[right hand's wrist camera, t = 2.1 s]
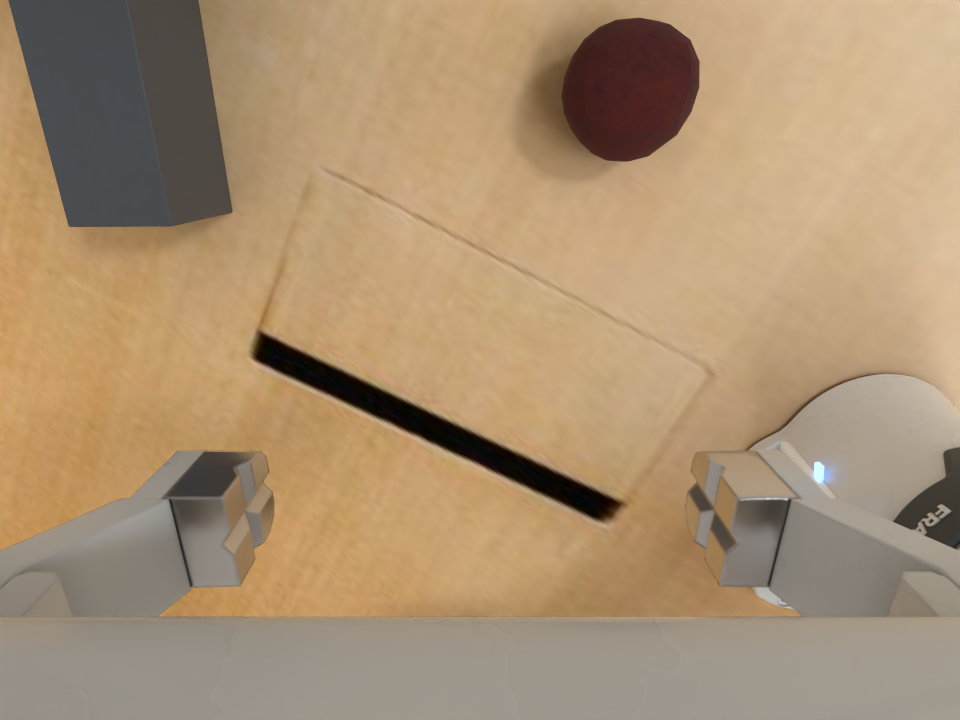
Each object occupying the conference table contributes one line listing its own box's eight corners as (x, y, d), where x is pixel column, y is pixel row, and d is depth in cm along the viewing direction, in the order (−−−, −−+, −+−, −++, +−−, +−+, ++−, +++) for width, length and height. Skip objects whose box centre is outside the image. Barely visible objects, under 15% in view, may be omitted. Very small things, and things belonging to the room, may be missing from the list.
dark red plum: (555, 35, 33) (573, 5, 27) (682, 30, 33) (732, 0, 27) (553, 162, 36) (569, 164, 29) (671, 159, 36) (713, 160, 29)
